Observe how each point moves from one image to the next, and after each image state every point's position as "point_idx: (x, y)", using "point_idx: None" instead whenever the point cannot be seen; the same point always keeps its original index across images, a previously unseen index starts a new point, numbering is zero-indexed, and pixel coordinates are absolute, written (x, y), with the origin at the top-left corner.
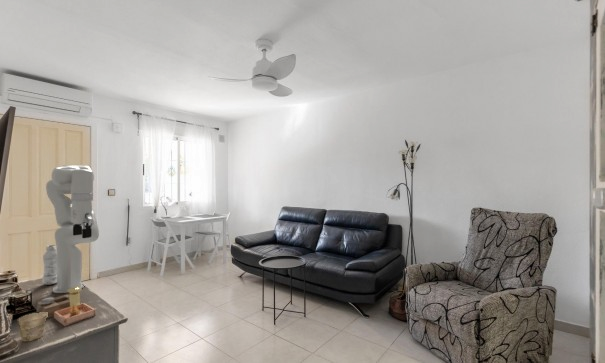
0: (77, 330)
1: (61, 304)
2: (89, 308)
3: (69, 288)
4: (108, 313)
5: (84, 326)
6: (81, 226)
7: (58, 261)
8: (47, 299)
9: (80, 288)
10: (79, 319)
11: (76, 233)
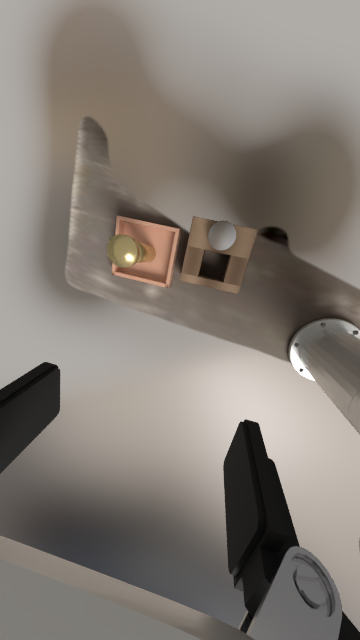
0: (85, 218)
1: (186, 250)
2: (132, 275)
3: (134, 244)
4: (105, 289)
5: (90, 234)
6: (230, 567)
7: None
8: (221, 234)
9: (110, 259)
10: None
11: (237, 447)
